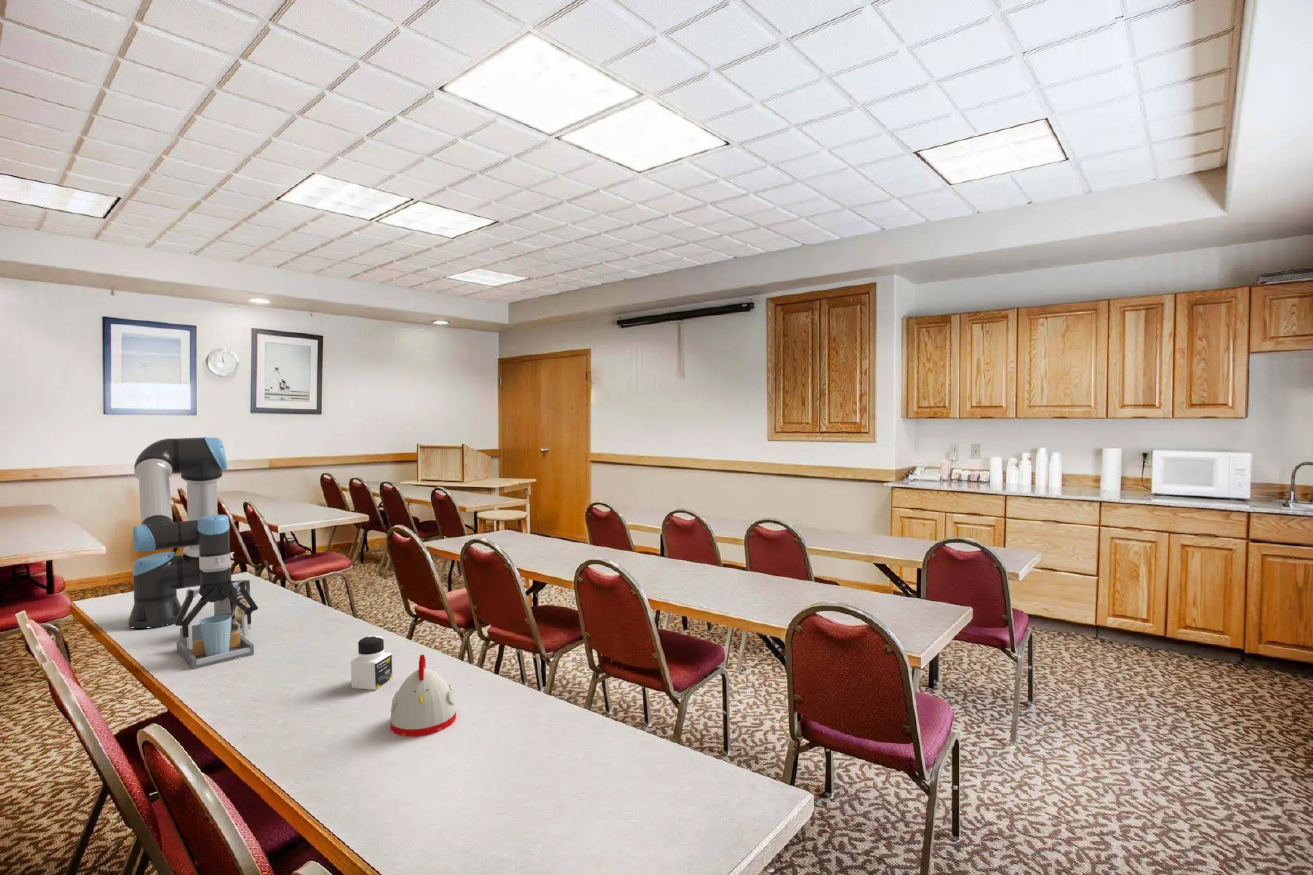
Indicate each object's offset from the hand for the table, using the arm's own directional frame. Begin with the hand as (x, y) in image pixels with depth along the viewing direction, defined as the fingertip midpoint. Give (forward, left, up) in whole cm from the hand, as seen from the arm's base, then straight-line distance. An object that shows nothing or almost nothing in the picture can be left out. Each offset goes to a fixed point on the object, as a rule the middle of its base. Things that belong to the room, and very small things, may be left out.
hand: (218, 641), depth 190 cm
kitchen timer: (+84, +21, -5) cm, 86 cm away
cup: (+1, 0, -4) cm, 4 cm away
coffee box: (-22, +9, -5) cm, 25 cm away
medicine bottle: (+54, +22, -5) cm, 58 cm away
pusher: (-6, 0, -3) cm, 6 cm away
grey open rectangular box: (-4, 0, -4) cm, 6 cm away
